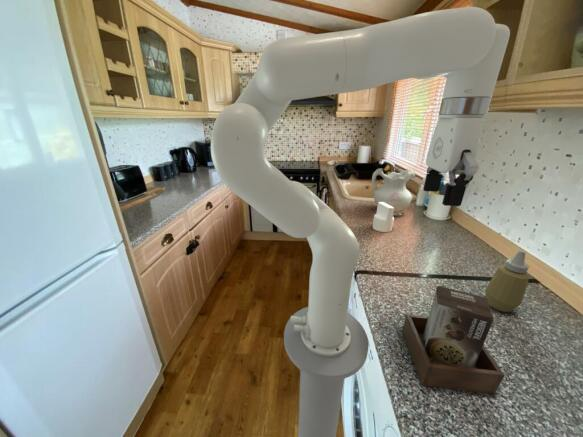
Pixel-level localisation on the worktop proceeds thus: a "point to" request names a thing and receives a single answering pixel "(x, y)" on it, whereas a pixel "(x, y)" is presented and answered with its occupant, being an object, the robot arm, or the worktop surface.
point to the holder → (444, 376)
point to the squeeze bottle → (508, 284)
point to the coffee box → (456, 328)
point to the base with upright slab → (383, 217)
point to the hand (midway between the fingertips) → (439, 197)
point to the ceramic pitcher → (393, 189)
